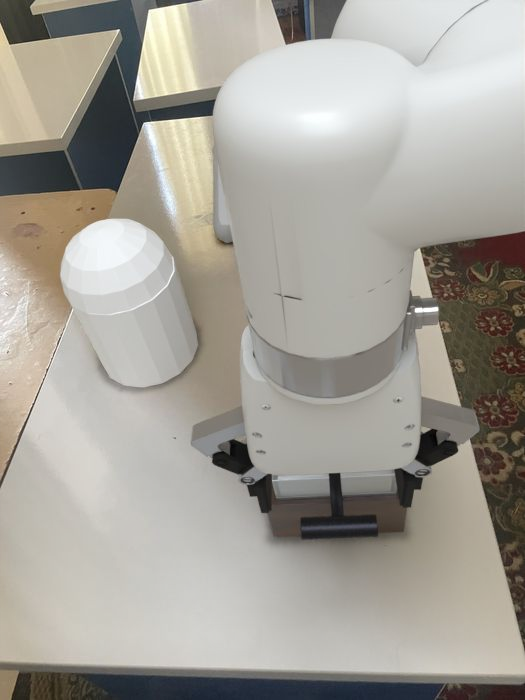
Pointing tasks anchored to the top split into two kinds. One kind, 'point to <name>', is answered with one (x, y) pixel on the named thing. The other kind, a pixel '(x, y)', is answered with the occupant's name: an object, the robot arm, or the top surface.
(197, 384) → the top surface
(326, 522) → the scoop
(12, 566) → the top surface
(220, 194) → the tube
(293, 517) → the stand
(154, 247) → the container
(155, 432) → the top surface
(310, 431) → the robot arm
